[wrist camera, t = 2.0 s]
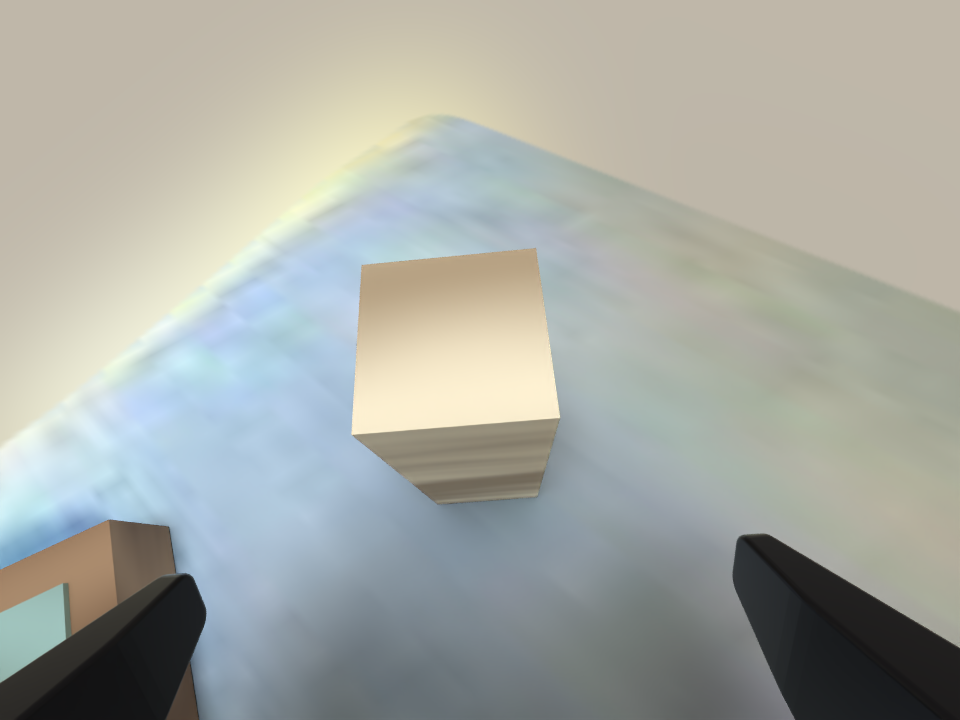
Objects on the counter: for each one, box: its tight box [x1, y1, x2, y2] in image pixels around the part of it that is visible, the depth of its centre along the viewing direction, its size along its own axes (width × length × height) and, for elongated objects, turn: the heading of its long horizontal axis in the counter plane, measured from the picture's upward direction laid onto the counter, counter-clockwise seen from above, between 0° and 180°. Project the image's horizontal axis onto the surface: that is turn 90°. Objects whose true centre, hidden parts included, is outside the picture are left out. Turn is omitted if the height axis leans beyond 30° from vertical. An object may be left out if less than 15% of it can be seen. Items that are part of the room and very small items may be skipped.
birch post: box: [352, 248, 560, 504], centre depth 14 cm, size 4×4×10 cm
